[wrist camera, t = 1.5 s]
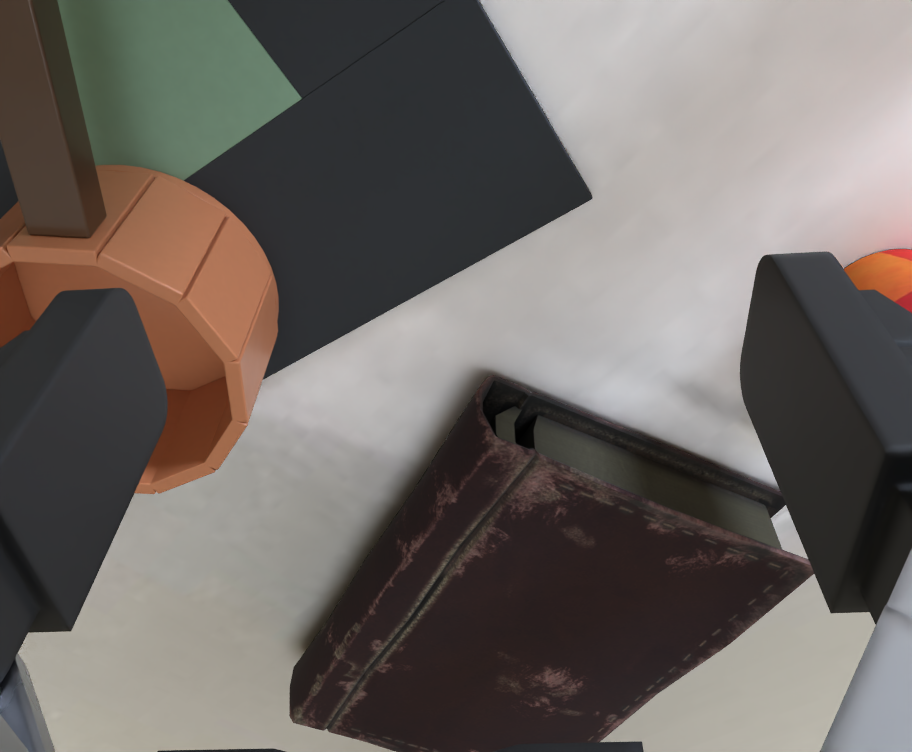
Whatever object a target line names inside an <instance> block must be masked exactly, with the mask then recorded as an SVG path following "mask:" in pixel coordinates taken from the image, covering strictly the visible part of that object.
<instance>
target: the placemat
mask: <svg viewBox="0 0 912 752" xmlns="http://www.w3.org/2000/svg"><path fill="white" fill-rule="evenodd" d="M57 1H58V5H59V10H60V14H61V18H62V23H63V27H64V31H65V36H66V40H67V44H68V49H69V53H70V57H71V62H72V66H73V71H74V75H75V79H76V84H77V88H78V92H79V97H80V101H81V105H82V110H83V114H84V118H85V123H86V127H87V132H88V136H89V140H90V145H91V149H92V153H93V158H94V162H95V166H97V165H127V166H135V167H142V168H146V169H150V170H154V171H159V172H162V173H165V174H167V175H170V176H173V177H176V178H179V179H181V180H183V181H185V182H187V183H189V184H191V185H193V186H195V187H197V188H199V189H200V190H202V191H204V192H205V193H207V194H208V195H210V196H212V197H213V198H215V199H216V200H217V201H219V202H220V203H221V204H222V205H224V206H225V207H226V208H228V209H229V210H230V211H231V212H232V213H233V214H234V215H235V216H236V217H237V218H238V219H239V220H240V221H241V222H242V223H243V224H244V225H245V226H246V227H247V229H248V230H249V231H250V232H251V233H252V235H253V236H254V237H255V239H256V240H257V242H258V243H259V245H260V247H261V248H262V250H263V251H264V253H265V255H266V257H267V259H268V261H269V264H270V266H271V268H272V271H273V274H274V277H275V281H276V285H277V291H278V297H279V313H278V320H277V324H278V333H277V338H276V341H275V344H274V347H273V350H272V353H271V356H270V359H269V362H268V365H267V368H266V371H265V374H264V377H263V379H265V378H267V377H269V376H271V375H272V374H274V373H276V372H278V371H280V370H281V369H283V368H285V367H287V366H289V365H291V364H292V363H294V362H296V361H298V360H300V359H301V358H303V357H305V356H307V355H309V354H311V353H312V352H314V351H316V350H318V349H320V348H322V347H323V346H325V345H327V344H329V343H331V342H332V341H334V340H336V339H338V338H340V337H342V336H343V335H345V334H347V333H349V332H351V331H353V330H354V329H356V328H358V327H360V326H362V325H363V324H365V323H367V322H369V321H371V320H373V319H374V318H376V317H378V316H380V315H382V314H384V313H385V312H387V311H389V310H391V309H393V308H394V307H396V306H398V305H400V304H402V303H404V302H405V301H407V300H409V299H411V298H413V297H414V296H416V295H418V294H420V293H422V292H424V291H425V290H427V289H429V288H431V287H433V286H435V285H436V284H438V283H440V282H442V281H444V280H445V279H447V278H449V277H451V276H453V275H455V274H456V273H458V272H460V271H462V270H464V269H466V268H467V267H469V266H471V265H473V264H475V263H476V262H478V261H480V260H482V259H484V258H486V257H487V256H489V255H491V254H493V253H495V252H497V251H498V250H500V249H502V248H504V247H506V246H507V245H509V244H511V243H513V242H515V241H517V240H518V239H520V238H522V237H524V236H526V235H527V234H529V233H531V232H533V231H535V230H537V229H538V228H540V227H542V226H544V225H546V224H548V223H549V222H551V221H553V220H555V219H557V218H558V217H560V216H562V215H564V214H566V213H568V212H569V211H571V210H573V209H575V208H577V207H579V206H580V205H582V204H584V203H586V202H588V201H589V200H591V199H592V195H591V193H590V191H589V189H588V188H587V186H586V184H585V183H584V181H583V179H582V177H581V176H580V174H579V172H578V171H577V169H576V167H575V165H574V164H573V162H572V160H571V158H570V157H569V155H568V153H567V152H566V150H565V148H564V146H563V145H562V143H561V141H560V140H559V138H558V136H557V134H556V133H555V131H554V129H553V128H552V126H551V124H550V122H549V121H548V119H547V117H546V115H545V114H544V112H543V110H542V109H541V107H540V105H539V103H538V102H537V100H536V98H535V97H534V95H533V93H532V91H531V90H530V88H529V86H528V85H527V83H526V81H525V79H524V78H523V76H522V74H521V73H520V71H519V69H518V67H517V66H516V64H515V62H514V60H513V59H512V57H511V55H510V54H509V52H508V50H507V48H506V47H505V45H504V43H503V42H502V40H501V38H500V36H499V35H498V33H497V31H496V30H495V28H494V26H493V24H492V23H491V21H490V19H489V18H488V16H487V14H486V12H485V11H484V9H483V7H482V5H481V4H480V2H479V0H57ZM17 202H18V197H17V194H16V191H15V187H14V184H13V181H12V177H11V174H10V171H9V167H8V164H7V160H6V157H5V154H4V150H3V147H2V144H1V140H0V219H1V218H2V217H3V216H4V215H5V214H6V213H7V212H8V211H9V210H10V209H11V208H12V207H13V206H14V205H15V204H16V203H17Z"/></svg>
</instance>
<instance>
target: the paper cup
mask: <svg viewBox="0 0 912 752" xmlns="http://www.w3.org/2000/svg"><path fill="white" fill-rule="evenodd" d="M844 271H845V272H846V274H847V275H848V276H849V278H850V279H851V281H852V282H853V283H854V285H855V286H856V288H857V289H858V290H874V289H875V290H876V291H878V292H880V293H881V294H883V295H884V296H886V297H887V298H889V299H891V300H892V301H894V302H895V303H897V304H899V305H900V306H902V307H903V308H905V309H906V310H908V311H910V312H911V313H912V250H909V249H894V250H886V251H882V252H878V253H874V254H871V255H869V256H866V257H864V258H861V259H859V260H857V261H856V262H854V263H852V264H850V265H849V266H847V267H846V268H845V269H844Z"/></svg>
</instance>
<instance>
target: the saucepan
mask: <svg viewBox="0 0 912 752" xmlns="http://www.w3.org/2000/svg"><path fill="white" fill-rule="evenodd" d="M0 140H1V144H2V147H3V150H4V154H5V157H6V160H7V164H8V167H9V171H10V174H11V177H12V181H13V184H14V187H15V191H16V194H17V197H18V202H17V203H16V204H15V205H14V206H13V207H12V208H11V209H10V210H9V211H8V212H7V213H6V214H5V215H4V216H3V217H2V218H1V219H0V348H1V347H2V346H4V345H5V344H7V343H8V342H9V341H11V340H12V339H14V338H15V337H16V336H18V335H19V334H21V333H22V332H23V331H27V330H30V329H31V328H32V326H33V325H34V324H35V322H36V321H37V320H38V318H39V317H40V316H41V315H42V313H43V312H44V311H45V309H46V308H47V307H48V305H49V304H50V303H51V301H52V300H53V299H54V298H55V296H56V295H57V294H58V293H60V292H62V291H66V290H85V289H104V288H123V289H125V290H126V291H127V292H128V293H129V294H130V295H131V296H132V298H133V300H134V302H135V304H136V307H137V309H138V312H139V315H140V317H141V320H142V323H143V325H144V328H145V331H146V334H147V336H148V339H149V342H150V344H151V347H152V350H153V352H154V355H155V358H156V361H157V363H158V366H159V369H160V371H161V374H162V377H163V379H164V383H165V386H166V391H167V401H168V410H167V418H166V423H165V426H164V429H163V431H162V434H161V436H160V438H159V440H158V442H157V445H156V447H155V449H154V451H153V453H152V455H151V458H150V460H149V462H148V464H147V466H146V469H145V471H144V473H143V475H142V477H141V479H140V482H139V484H138V486H137V488H136V490H135V493H142V494H155V492H157V493H162V492H164V491H167V490H170V489H172V488H175V487H177V486H180V485H183V484H185V483H188V482H190V481H193V480H196V479H198V478H201V477H203V476H206V475H209V474H211V473H214V472H215V470H218V469H219V467H220V466H221V464H222V463H223V461H224V460H225V458H226V457H227V455H228V454H229V452H230V451H231V449H232V448H233V446H234V445H235V443H236V442H237V440H238V439H239V437H240V436H241V434H242V433H243V431H244V430H245V428H246V427H247V425H248V422H249V419H250V416H251V413H252V410H253V407H254V404H255V401H256V398H257V395H258V392H259V389H260V386H261V383H262V380H263V377H264V374H265V371H266V368H267V365H268V362H269V359H270V356H271V353H272V350H273V347H274V344H275V341H276V338H277V333H278V324H277V320H278V313H279V297H278V291H277V285H276V281H275V277H274V274H273V271H272V268H271V266H270V264H269V261H268V259H267V257H266V255H265V253H264V251H263V250H262V248H261V247H260V245H259V243H258V242H257V240H256V239H255V237H254V236H253V235H252V233H251V232H250V231H249V230H248V229H247V227H246V226H245V225H244V224H243V223H242V222H241V221H240V220H239V219H238V218H237V217H236V216H235V215H234V214H233V213H232V212H231V211H230V210H229V209H228V208H226V207H225V206H224V205H222V204H221V203H220V202H219V201H217V200H216V199H215V198H213V197H212V196H210V195H208V194H207V193H205V192H204V191H202V190H200V189H199V188H197V187H195V186H193V185H191V184H189V183H187V182H185V181H183V180H181V179H179V178H176V177H173V176H170V175H167V174H165V173H162V172H159V171H154V170H150V169H146V168H142V167H135V166H127V165H97V166H95V162H94V158H93V153H92V149H91V145H90V140H89V136H88V132H87V127H86V123H85V118H84V114H83V110H82V105H81V101H80V97H79V92H78V88H77V84H76V79H75V75H74V71H73V66H72V62H71V57H70V53H69V49H68V44H67V40H66V36H65V31H64V27H63V23H62V18H61V14H60V10H59V5H58V1H57V0H0Z"/></svg>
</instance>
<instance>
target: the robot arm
mask: <svg viewBox="0 0 912 752" xmlns="http://www.w3.org/2000/svg"><path fill="white" fill-rule="evenodd" d="M740 381H741V390H742V395H743V400H744V403H745V406H746V409H747V411H748V413H749V416H750V418H751V421H752V423H753V426H754V428H755V430H756V433H757V435H758V438H759V440H760V443H761V445H762V447H763V450H764V452H765V455H766V457H767V460H768V462H769V464H770V467H771V469H772V472H773V474H774V477H775V479H776V481H777V484H778V486H779V489H780V491H781V493H782V496H783V498H784V501H785V503H786V506H787V508H788V510H789V513H790V515H791V518H792V520H793V523H794V525H795V527H796V530H797V532H798V535H799V537H800V540H801V542H802V544H803V547H804V549H805V552H806V554H807V557H808V559H809V561H810V564H811V566H812V569H813V571H814V574H815V576H816V578H817V581H818V583H819V586H820V588H821V590H822V593H823V595H824V598H825V600H826V603H827V605H828V607H829V610H830V612H831V613H851V612H870V613H871V616H872V618H873V620H874V622H875V624H876V626H875V629H874V631H873V633H872V635H871V638H870V640H869V642H868V644H867V647H866V649H865V651H864V653H863V656H862V658H861V660H860V662H859V665H858V667H857V669H856V671H855V674H854V676H853V678H852V680H851V683H850V685H849V687H848V690H847V692H846V694H845V696H844V699H843V701H842V703H841V705H840V708H839V710H838V712H837V714H836V717H835V719H834V721H833V723H832V726H831V728H830V730H829V732H828V735H827V737H826V739H825V741H824V744H823V746H822V748H821V750H820V752H912V313H911V312H910V311H908V310H906V309H905V308H903V307H902V306H900V305H899V304H897V303H895V302H894V301H892V300H891V299H889V298H887V297H886V296H884V295H883V294H881V293H880V292H878V291H876V290H875V289H874V290H858V289H857V288H856V286H855V285H854V283H853V282H852V281H851V279H850V278H849V276H848V275H847V274H846V272H845V271H844V269H843V268H842V266H841V265H840V264H839V262H838V261H837V259H836V258H835V257H834V256H833V254H831V253H830V252H809V253H791V254H772V255H765V256H763V257H762V259H761V260H760V262H759V264H758V267H757V271H756V275H755V281H754V287H753V292H752V298H751V304H750V309H749V315H748V320H747V326H746V332H745V337H744V343H743V348H742V354H741V362H740ZM167 410H168V401H167V391H166V386H165V383H164V379H163V377H162V374H161V371H160V369H159V366H158V363H157V361H156V358H155V355H154V352H153V350H152V347H151V344H150V342H149V339H148V336H147V334H146V331H145V328H144V325H143V323H142V320H141V317H140V315H139V312H138V309H137V307H136V304H135V302H134V300H133V298H132V296H131V295H130V294H129V293H128V292H127V291H126V290H125V289H123V288H104V289H85V290H66V291H62V292H60V293H58V294H57V295H56V296H55V298H54V299H53V300H52V301H51V303H50V304H49V305H48V307H47V308H46V309H45V311H44V312H43V313H42V315H41V316H40V317H39V318H38V320H37V321H36V322H35V324H34V325H33V326H32V328H31V329H30V330H27V331H23V332H22V333H21V334H19V335H18V336H16V337H15V338H14V339H12V340H11V341H9V342H8V343H7V344H5V345H4V346H2V347H1V348H0V752H55V749H54V746H53V743H52V740H51V737H50V734H49V731H48V728H47V725H46V722H45V719H44V717H43V714H42V711H41V708H40V705H39V702H38V699H37V696H36V693H35V690H34V687H33V684H32V681H31V678H30V675H29V672H28V669H27V667H26V665H25V663H24V662H23V660H22V659H21V657H20V656H19V654H18V651H19V649H20V647H21V645H22V643H23V641H24V639H25V637H26V635H27V633H28V632H61V631H71V630H72V628H73V626H74V624H75V621H76V619H77V617H78V615H79V613H80V611H81V608H82V606H83V604H84V602H85V600H86V597H87V595H88V593H89V591H90V589H91V587H92V584H93V582H94V580H95V578H96V576H97V573H98V571H99V569H100V567H101V565H102V562H103V560H104V558H105V556H106V554H107V552H108V549H109V547H110V545H111V543H112V541H113V538H114V536H115V534H116V532H117V530H118V528H119V525H120V523H121V521H122V519H123V517H124V514H125V512H126V510H127V508H128V506H129V504H130V501H131V499H132V497H133V495H134V493H135V490H136V488H137V486H138V484H139V482H140V479H141V477H142V475H143V473H144V471H145V469H146V466H147V464H148V462H149V460H150V458H151V455H152V453H153V451H154V449H155V447H156V445H157V442H158V440H159V438H160V436H161V434H162V431H163V429H164V426H165V423H166V418H167ZM158 752H285V751H281V750H277V749H228V750H175V751H158ZM493 752H643V746H642V742H597V743H545V744H518V745H514V746H511V747H507V748H504V749H500V750H497V751H493Z"/></svg>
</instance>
